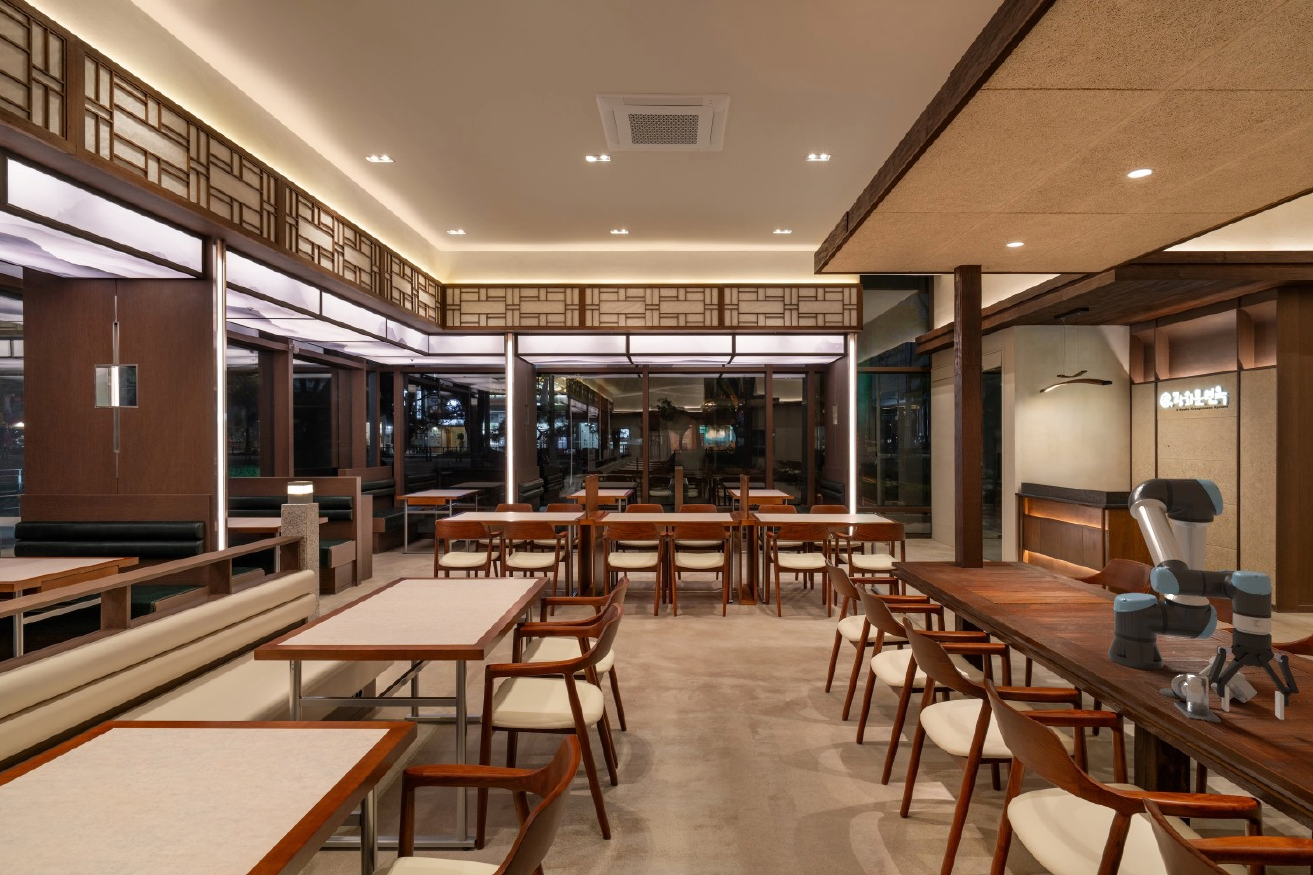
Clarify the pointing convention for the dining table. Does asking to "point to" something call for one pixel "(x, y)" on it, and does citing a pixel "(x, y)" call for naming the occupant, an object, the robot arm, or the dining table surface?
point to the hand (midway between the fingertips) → (1252, 713)
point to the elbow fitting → (1194, 696)
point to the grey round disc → (1168, 693)
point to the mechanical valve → (1231, 684)
